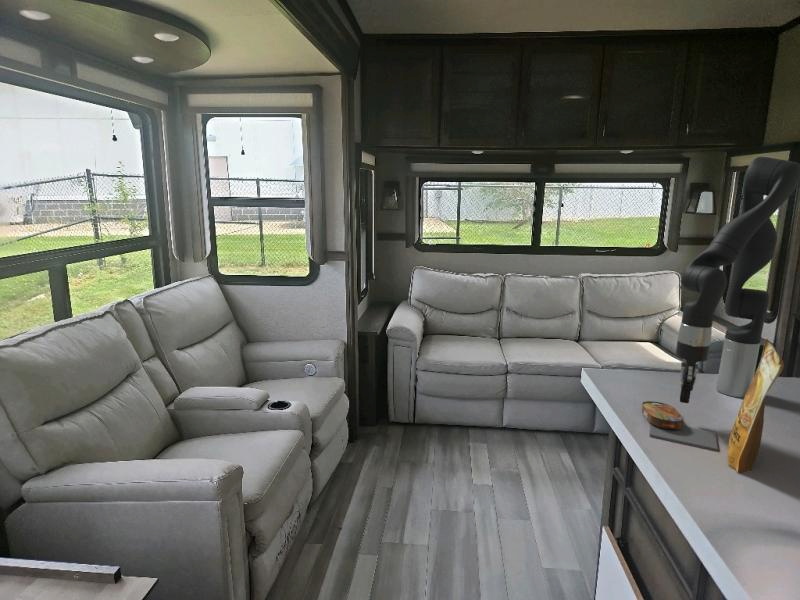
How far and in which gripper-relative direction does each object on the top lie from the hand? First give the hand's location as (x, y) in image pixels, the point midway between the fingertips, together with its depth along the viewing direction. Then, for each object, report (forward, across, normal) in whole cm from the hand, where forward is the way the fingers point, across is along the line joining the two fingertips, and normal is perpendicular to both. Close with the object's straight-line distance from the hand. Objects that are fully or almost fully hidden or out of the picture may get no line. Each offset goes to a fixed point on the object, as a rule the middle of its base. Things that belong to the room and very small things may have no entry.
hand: (684, 401), depth 140 cm
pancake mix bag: (+6, +16, +13) cm, 21 cm away
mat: (+6, +10, 0) cm, 11 cm away
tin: (+4, +2, -1) cm, 5 cm away
